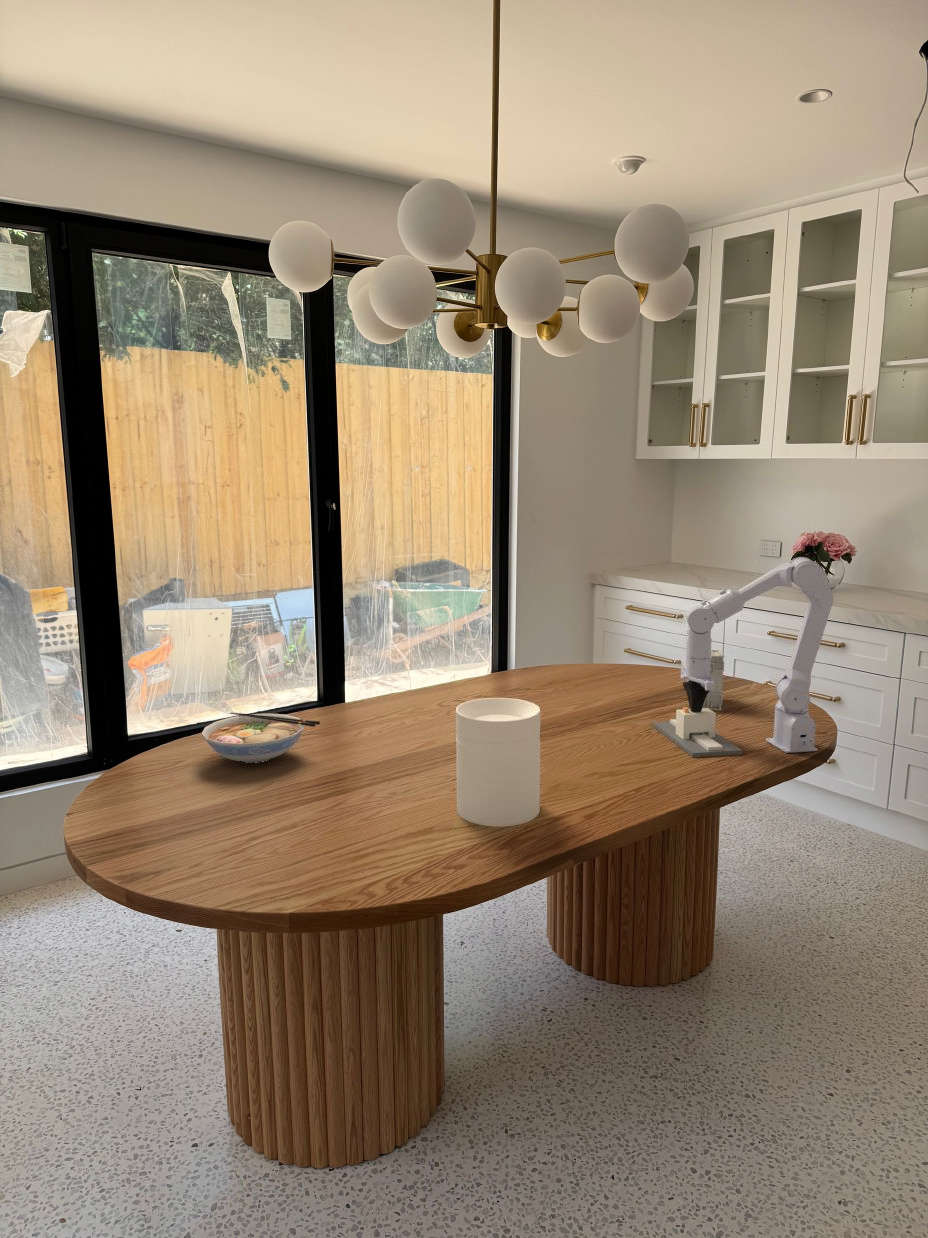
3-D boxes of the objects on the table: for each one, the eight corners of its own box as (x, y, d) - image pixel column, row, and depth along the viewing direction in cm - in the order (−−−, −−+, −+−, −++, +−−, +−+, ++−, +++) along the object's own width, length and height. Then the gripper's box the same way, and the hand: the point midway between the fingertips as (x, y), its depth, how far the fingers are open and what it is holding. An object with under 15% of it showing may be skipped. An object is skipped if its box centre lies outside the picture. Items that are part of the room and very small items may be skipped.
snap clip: (702, 736, 197) (702, 731, 197) (692, 736, 197) (693, 731, 197) (696, 732, 200) (697, 727, 200) (687, 732, 200) (687, 728, 199)
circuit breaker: (711, 696, 237) (713, 645, 234) (721, 710, 223) (724, 656, 220) (685, 695, 238) (687, 645, 235) (693, 709, 224) (696, 655, 221)
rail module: (714, 737, 197) (716, 709, 196) (683, 739, 196) (684, 710, 194) (706, 731, 201) (707, 704, 200) (675, 733, 200) (676, 705, 199)
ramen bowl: (177, 766, 183) (175, 731, 182) (246, 737, 203) (244, 705, 202) (266, 783, 172) (264, 746, 171) (330, 751, 193) (328, 717, 191)
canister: (556, 809, 158) (558, 708, 155) (500, 834, 147) (499, 727, 144) (496, 787, 169) (496, 693, 166) (439, 809, 158) (438, 709, 155)
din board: (741, 754, 188) (742, 746, 187) (692, 757, 186) (692, 749, 186) (696, 723, 211) (697, 716, 211) (652, 726, 209) (652, 719, 209)
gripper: (670, 651, 202) (667, 704, 204) (695, 664, 187) (692, 721, 190) (697, 650, 203) (694, 703, 205) (724, 663, 188) (721, 720, 191)
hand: (695, 712), depth 197 cm, fingers closed, pressing on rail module
